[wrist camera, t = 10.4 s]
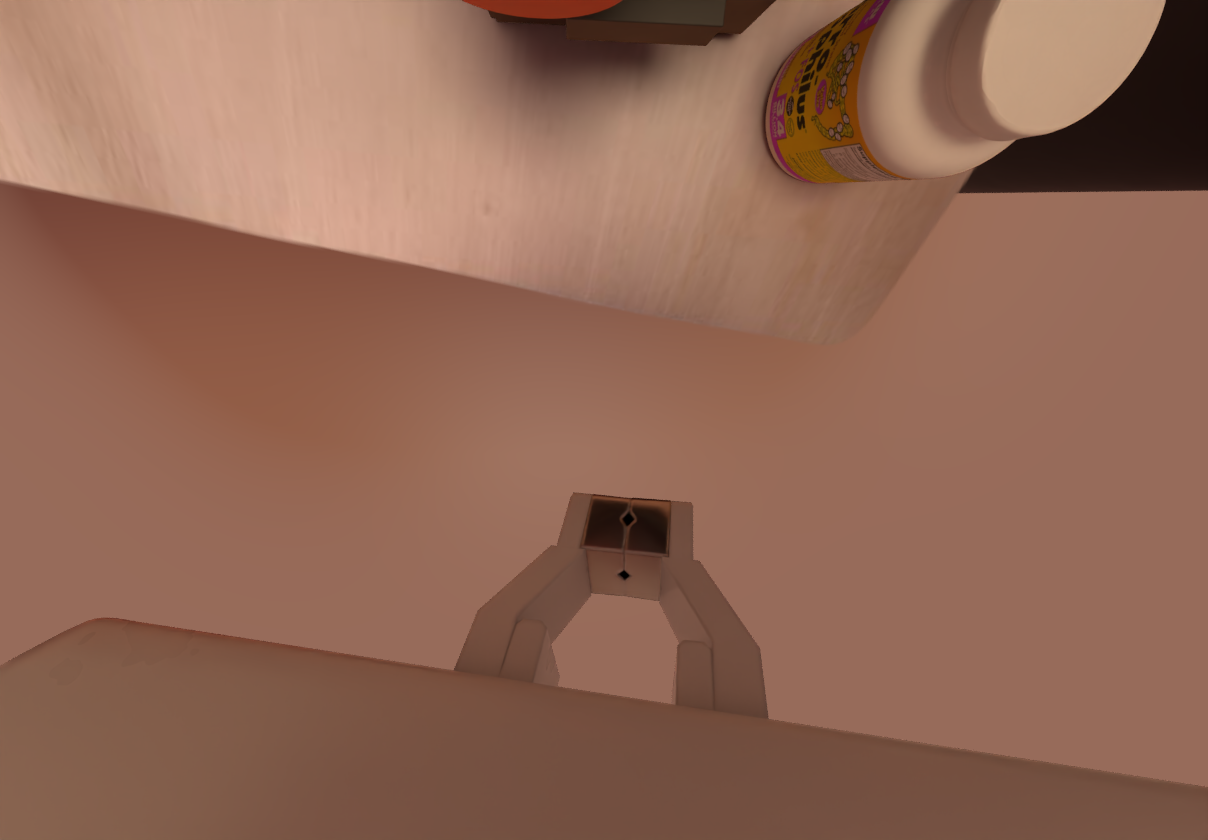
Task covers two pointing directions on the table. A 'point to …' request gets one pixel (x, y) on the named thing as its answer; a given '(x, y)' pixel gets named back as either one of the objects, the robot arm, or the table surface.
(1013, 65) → the supplement bottle
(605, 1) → the power button
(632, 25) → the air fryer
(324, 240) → the table surface
